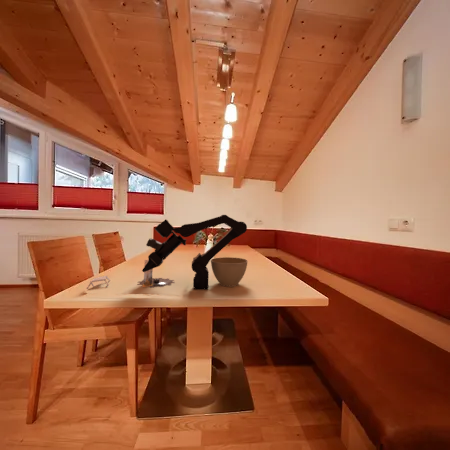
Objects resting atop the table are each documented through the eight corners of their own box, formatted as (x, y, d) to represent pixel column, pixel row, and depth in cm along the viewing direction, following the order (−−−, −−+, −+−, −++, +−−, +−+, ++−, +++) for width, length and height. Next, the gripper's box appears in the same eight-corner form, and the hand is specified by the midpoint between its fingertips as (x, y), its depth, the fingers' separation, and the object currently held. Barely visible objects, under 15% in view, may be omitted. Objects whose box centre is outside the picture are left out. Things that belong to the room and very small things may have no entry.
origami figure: (106, 293, 101) (106, 281, 100) (85, 293, 100) (85, 281, 100) (116, 285, 113) (116, 274, 112) (97, 285, 112) (97, 274, 112)
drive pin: (151, 283, 111) (152, 259, 111) (152, 285, 108) (153, 261, 107) (143, 283, 110) (144, 259, 110) (143, 285, 106) (144, 261, 106)
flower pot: (222, 278, 132) (223, 256, 131) (252, 283, 122) (253, 259, 122) (203, 285, 116) (203, 260, 116) (235, 291, 107) (236, 264, 107)
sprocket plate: (177, 281, 122) (177, 275, 122) (171, 291, 105) (171, 284, 105) (143, 280, 122) (143, 274, 122) (131, 290, 105) (131, 283, 105)
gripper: (160, 231, 118) (137, 253, 117) (154, 233, 99) (126, 260, 98) (176, 247, 119) (153, 269, 118) (173, 252, 101) (145, 279, 99)
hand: (144, 269), depth 108 cm, fingers open, 9 cm apart
